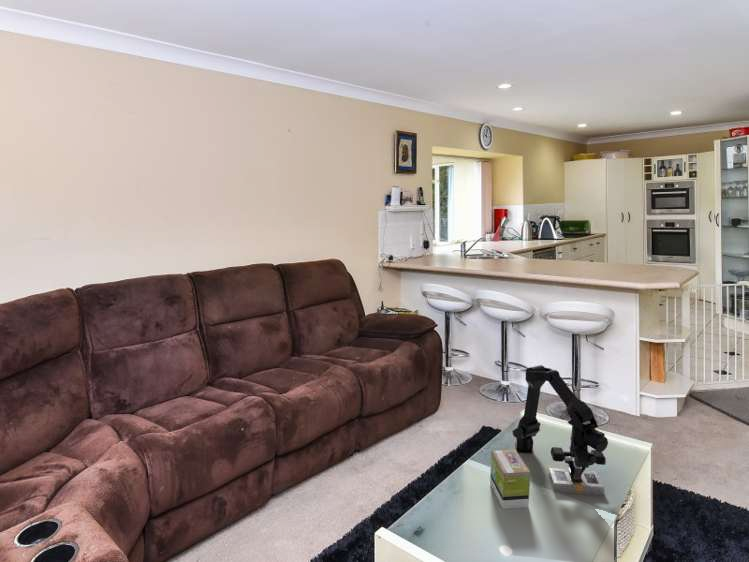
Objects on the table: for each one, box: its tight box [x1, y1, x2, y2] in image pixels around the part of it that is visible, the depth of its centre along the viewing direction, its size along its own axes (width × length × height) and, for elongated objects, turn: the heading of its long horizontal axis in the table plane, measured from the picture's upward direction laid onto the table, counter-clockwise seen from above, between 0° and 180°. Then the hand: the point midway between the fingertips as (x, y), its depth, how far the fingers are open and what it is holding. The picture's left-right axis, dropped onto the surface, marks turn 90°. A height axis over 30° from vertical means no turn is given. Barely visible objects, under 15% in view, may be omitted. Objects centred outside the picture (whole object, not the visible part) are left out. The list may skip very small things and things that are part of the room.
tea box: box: [489, 448, 531, 510], centre depth 185 cm, size 15×10×15 cm, turn 5°
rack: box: [547, 467, 605, 496], centre depth 192 cm, size 18×10×4 cm, turn 82°
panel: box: [571, 460, 582, 483], centre depth 192 cm, size 2×5×6 cm, turn 172°
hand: (575, 475), depth 192 cm, fingers closed on panel, 2 cm apart
